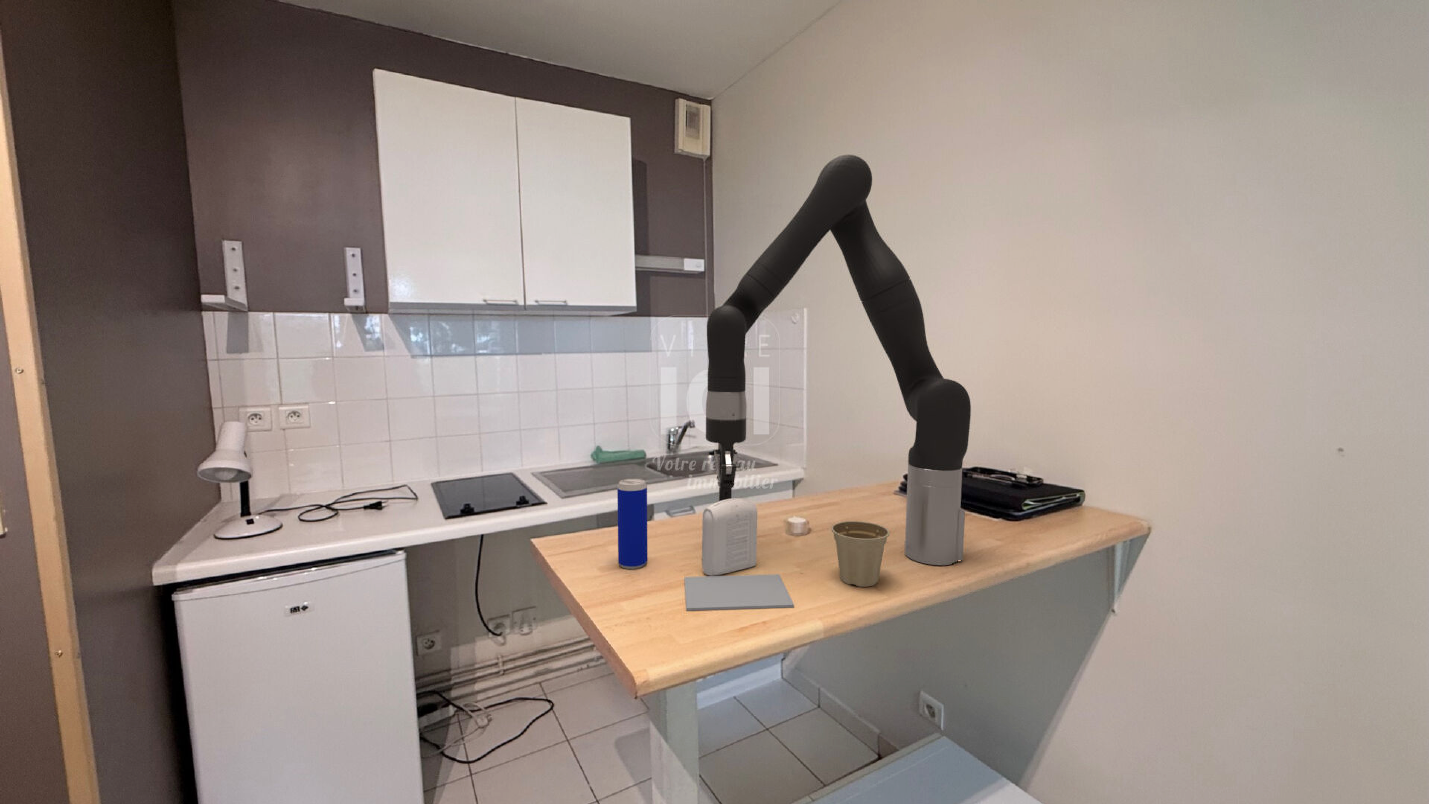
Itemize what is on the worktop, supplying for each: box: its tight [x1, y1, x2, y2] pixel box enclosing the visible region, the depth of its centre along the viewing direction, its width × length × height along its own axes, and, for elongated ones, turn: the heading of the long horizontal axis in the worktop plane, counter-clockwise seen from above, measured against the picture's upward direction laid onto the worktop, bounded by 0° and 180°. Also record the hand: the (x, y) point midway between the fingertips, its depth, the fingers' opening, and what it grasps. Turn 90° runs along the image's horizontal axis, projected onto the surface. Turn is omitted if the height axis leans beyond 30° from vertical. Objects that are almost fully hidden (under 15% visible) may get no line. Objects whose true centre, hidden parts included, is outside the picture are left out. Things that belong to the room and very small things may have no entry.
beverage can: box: [616, 478, 649, 570], centre depth 95 cm, size 5×5×15 cm
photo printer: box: [701, 497, 758, 576], centre depth 94 cm, size 10×4×12 cm, turn 124°
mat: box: [684, 573, 795, 612], centre depth 85 cm, size 16×11×1 cm
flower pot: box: [830, 520, 891, 588], centre depth 90 cm, size 9×9×9 cm
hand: (725, 506), depth 102 cm, fingers closed
